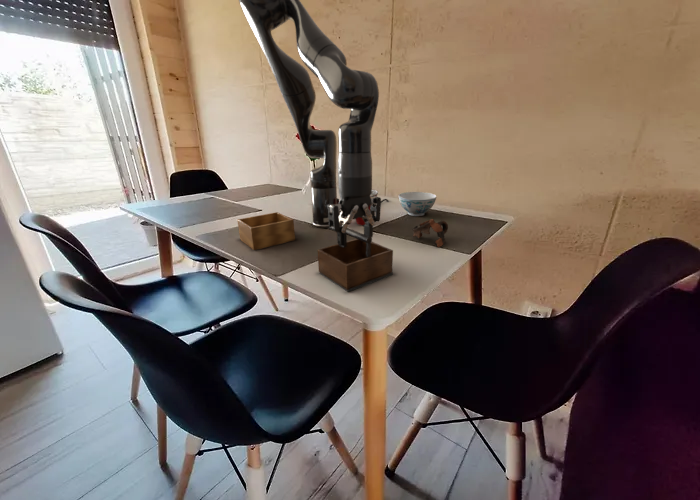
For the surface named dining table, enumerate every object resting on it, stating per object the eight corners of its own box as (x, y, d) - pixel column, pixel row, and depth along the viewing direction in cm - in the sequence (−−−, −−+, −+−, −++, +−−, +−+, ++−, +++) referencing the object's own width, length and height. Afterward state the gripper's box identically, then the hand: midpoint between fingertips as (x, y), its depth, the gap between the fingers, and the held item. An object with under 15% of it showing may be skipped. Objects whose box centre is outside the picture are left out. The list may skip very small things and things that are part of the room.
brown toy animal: (434, 252, 92) (422, 227, 91) (415, 255, 100) (403, 232, 100) (460, 234, 97) (449, 210, 96) (440, 238, 105) (429, 217, 105)
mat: (362, 259, 86) (362, 257, 86) (392, 274, 78) (392, 272, 77) (319, 273, 79) (319, 271, 78) (347, 292, 70) (347, 289, 70)
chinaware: (397, 218, 123) (398, 199, 120) (398, 208, 137) (399, 191, 134) (436, 219, 121) (438, 200, 118) (433, 209, 135) (434, 192, 132)
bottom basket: (279, 231, 111) (277, 212, 108) (295, 240, 102) (293, 219, 99) (240, 239, 103) (237, 219, 100) (253, 250, 94) (250, 228, 91)
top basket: (361, 257, 86) (361, 220, 82) (392, 272, 77) (393, 231, 73) (318, 271, 79) (316, 230, 74) (347, 289, 70) (346, 244, 66)
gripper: (338, 179, 62) (340, 255, 68) (390, 171, 70) (388, 240, 76) (318, 174, 68) (322, 245, 74) (368, 168, 76) (368, 232, 82)
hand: (355, 242), depth 75 cm, fingers open, 7 cm apart
